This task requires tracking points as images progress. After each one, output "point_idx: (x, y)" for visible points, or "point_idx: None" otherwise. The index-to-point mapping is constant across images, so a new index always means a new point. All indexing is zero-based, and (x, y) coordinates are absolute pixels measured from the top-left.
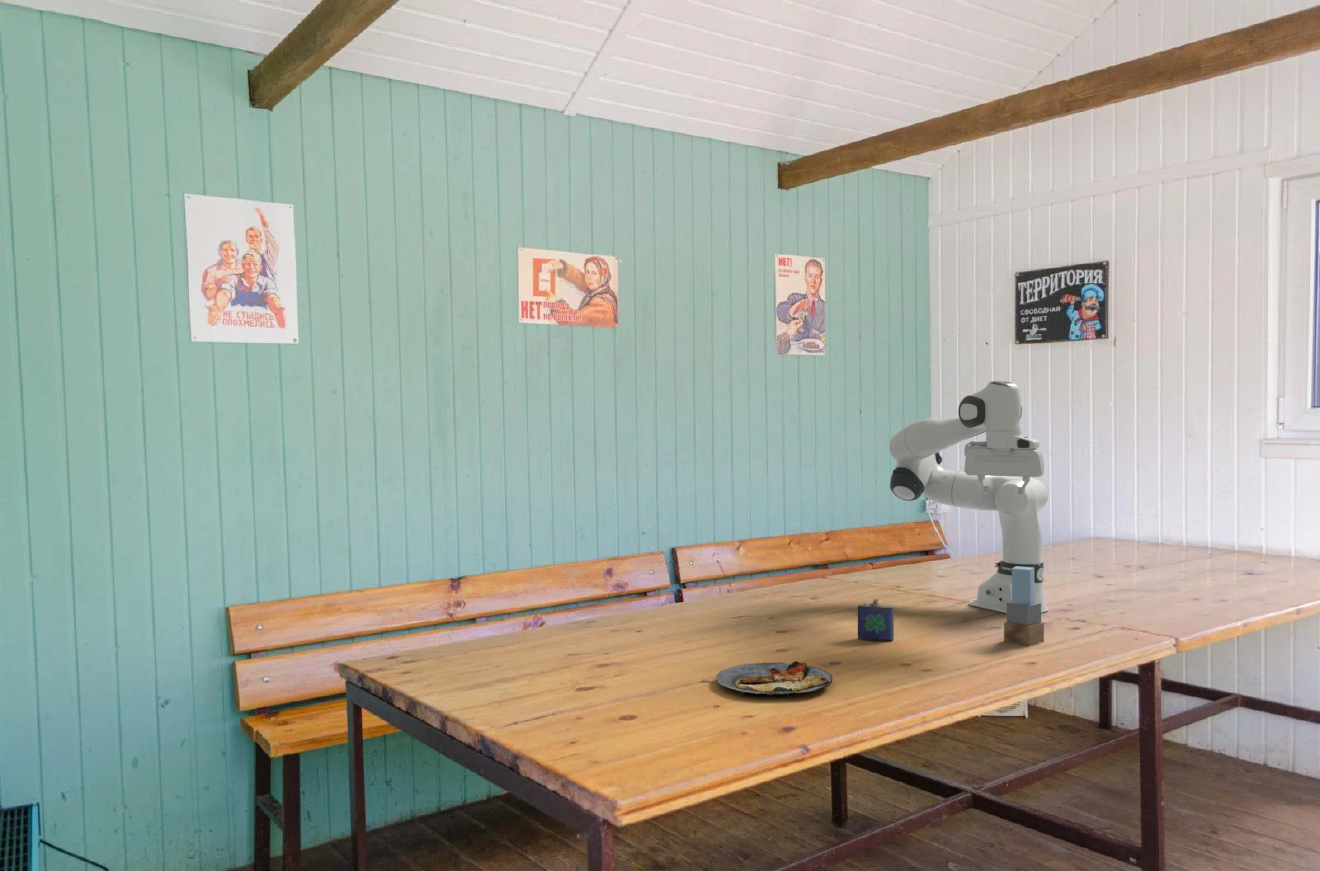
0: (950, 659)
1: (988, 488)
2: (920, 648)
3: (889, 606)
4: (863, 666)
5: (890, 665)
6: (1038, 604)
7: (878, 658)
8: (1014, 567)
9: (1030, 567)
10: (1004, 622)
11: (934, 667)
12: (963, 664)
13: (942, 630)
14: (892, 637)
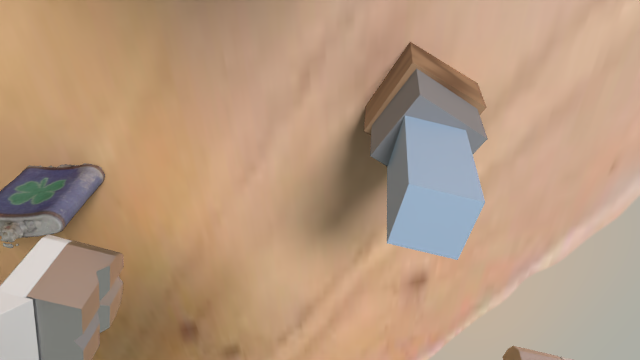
0: (258, 288)
1: (98, 308)
2: (182, 224)
3: (52, 227)
4: (128, 351)
5: (167, 339)
6: (476, 149)
7: (132, 306)
8: (399, 216)
9: (468, 202)
10: (365, 131)
11: (240, 337)
12: (287, 312)
13: (184, 18)
14: (100, 184)
